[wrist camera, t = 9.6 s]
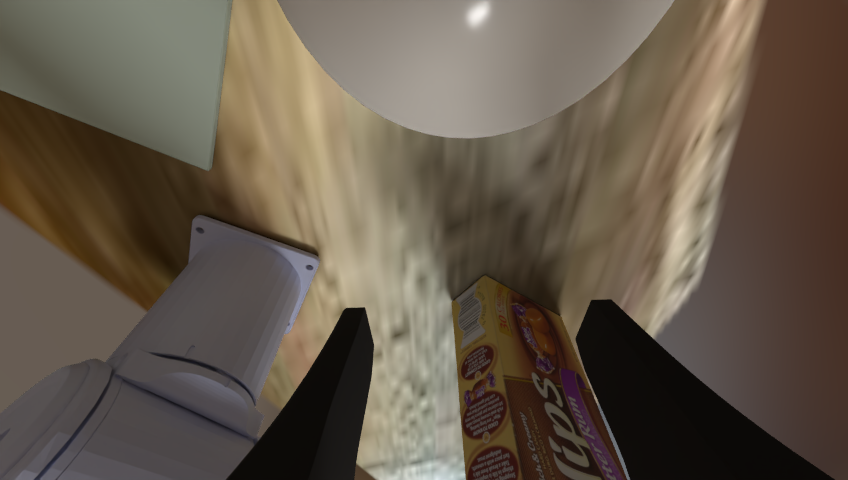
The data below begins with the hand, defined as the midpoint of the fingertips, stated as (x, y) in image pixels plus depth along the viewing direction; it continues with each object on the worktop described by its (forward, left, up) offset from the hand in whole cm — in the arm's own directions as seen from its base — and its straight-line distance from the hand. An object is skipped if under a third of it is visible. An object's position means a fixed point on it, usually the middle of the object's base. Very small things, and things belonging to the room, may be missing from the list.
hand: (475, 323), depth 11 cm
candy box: (-8, -10, -11) cm, 17 cm away
